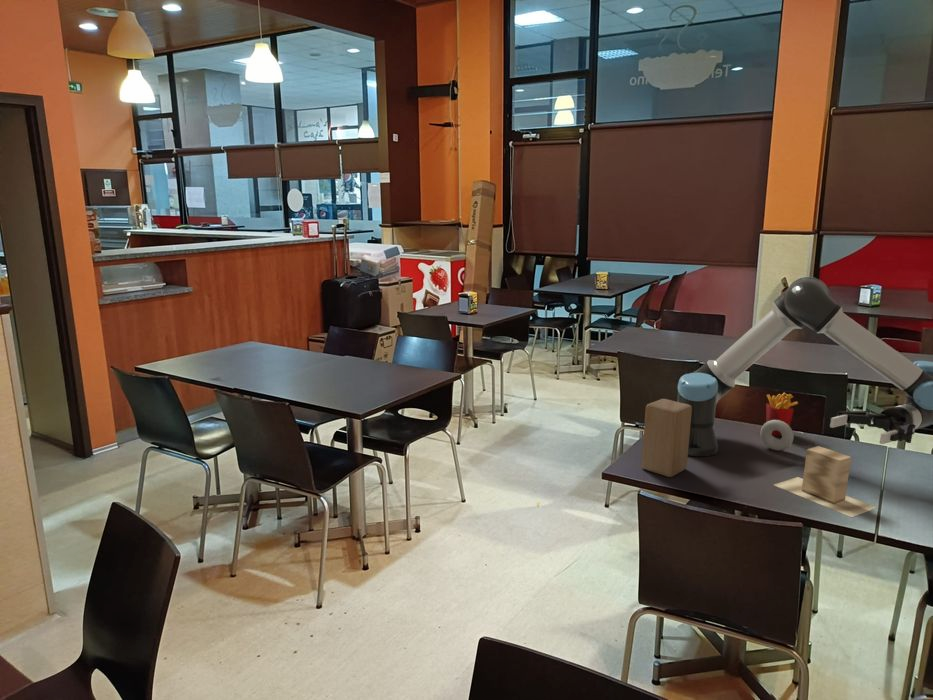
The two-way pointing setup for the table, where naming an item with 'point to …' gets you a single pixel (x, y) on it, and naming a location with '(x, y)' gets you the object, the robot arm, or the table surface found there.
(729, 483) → the table surface
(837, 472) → the block
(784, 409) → the french fries
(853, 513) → the board
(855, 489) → the table surface
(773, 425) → the donut
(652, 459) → the block
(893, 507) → the table surface
